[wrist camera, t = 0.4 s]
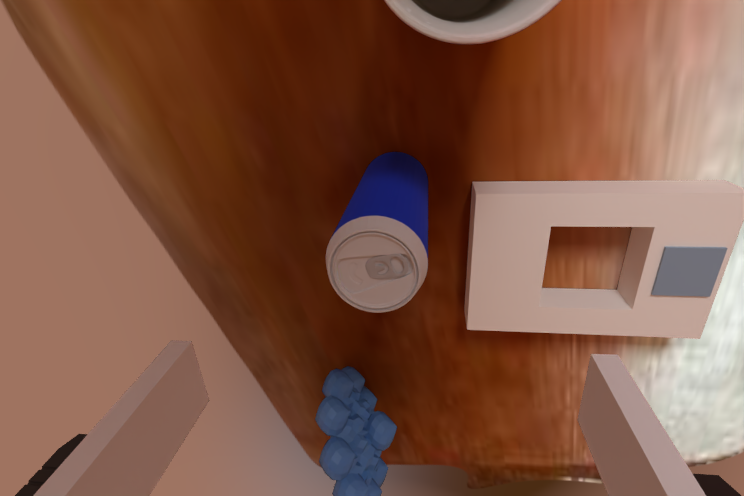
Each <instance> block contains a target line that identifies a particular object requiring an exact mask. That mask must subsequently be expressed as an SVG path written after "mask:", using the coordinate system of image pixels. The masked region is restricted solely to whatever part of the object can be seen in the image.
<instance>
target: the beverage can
mask: <svg viewBox="0 0 744 496" xmlns="http://www.w3.org/2000/svg"><path fill="white" fill-rule="evenodd" d="M326 266H327V272H328V276H329V280H330V282H331V284H332V286H333V288H334V290H335V291H336V293H337V294H338V295H339V296H340V297H341V298H342V299H343V300H344V301H345V302H347V303H348V304H350V305H351V306H353V307H355V308H358V309H360V310H363V311H367V312H373V313H382V312H389V311H392V310H395V309H398V308H400V307H402V306H403V305H405V304H406V303H407V302H409V301H410V300H411V299H412V297H413V296H414V295H415V294H416V292H417V291H418V290H419V288H420V287H421V285H422V284H423V282H424V280H425V277H426V274H427V269H428V177H427V174H426V171H425V169H424V167H423V166H422V165H421V163H420V162H419V161H418V160H417V159H415V158H414V157H412V156H410V155H408V154H405V153H402V152H389V153H385V154H382V155H380V156H378V157H377V158H375V159H374V160H373V161H372V162H371V163H370V164H369V166H368V167H367V169H366V171H365V173H364V175H363V177H362V179H361V181H360V183H359V185H358V187H357V188H356V190H355V192H354V194H353V196H352V198H351V200H350V202H349V204H348V206H347V208H346V210H345V212H344V214H343V216H342V218H341V220H340V222H339V224H338V226H337V228H336V230H335V231H334V233H333V235H332V237H331V239H330V242H329V244H328V247H327V251H326Z"/></svg>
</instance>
